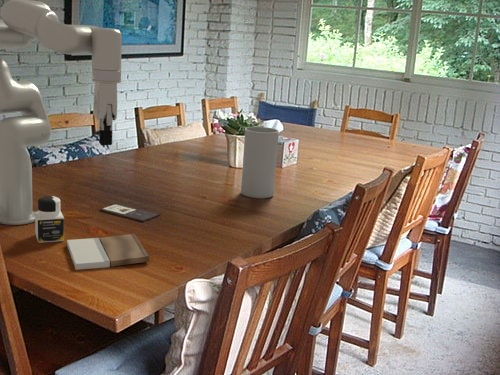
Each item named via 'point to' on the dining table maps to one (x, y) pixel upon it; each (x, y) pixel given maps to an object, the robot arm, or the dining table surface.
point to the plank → (124, 250)
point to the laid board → (88, 253)
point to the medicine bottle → (49, 220)
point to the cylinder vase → (259, 162)
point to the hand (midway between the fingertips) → (105, 144)
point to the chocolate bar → (130, 212)
